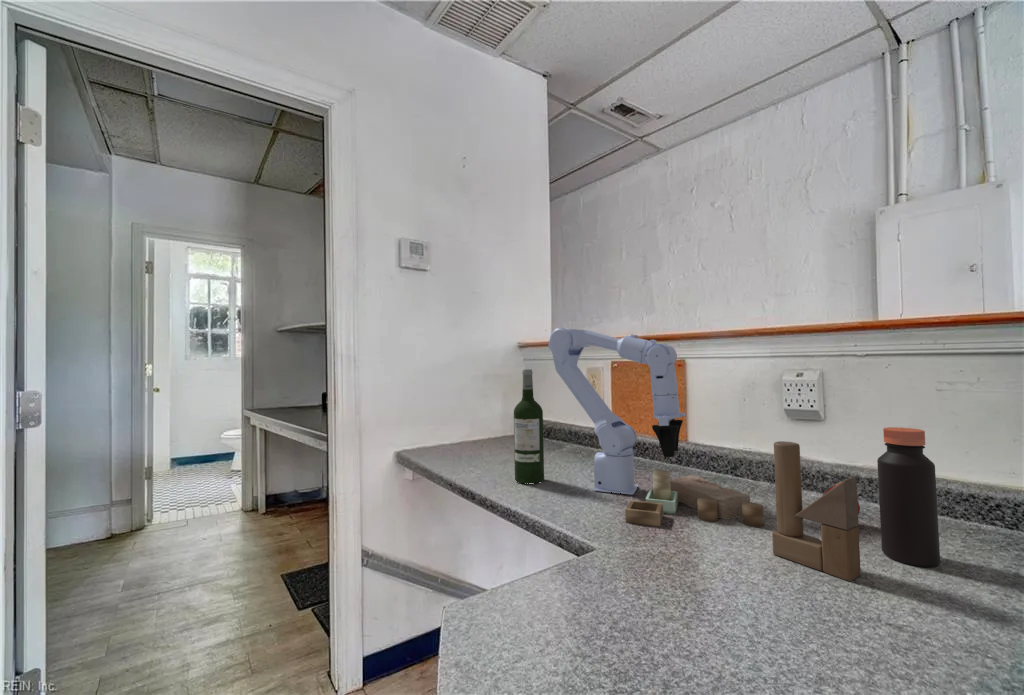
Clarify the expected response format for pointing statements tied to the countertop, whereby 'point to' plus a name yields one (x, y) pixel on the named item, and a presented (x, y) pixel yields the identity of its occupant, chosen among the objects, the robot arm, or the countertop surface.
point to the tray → (665, 502)
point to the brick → (709, 495)
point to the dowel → (661, 485)
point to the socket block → (644, 513)
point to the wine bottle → (528, 435)
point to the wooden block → (831, 510)
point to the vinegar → (908, 499)
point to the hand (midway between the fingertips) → (670, 453)
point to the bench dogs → (750, 512)
